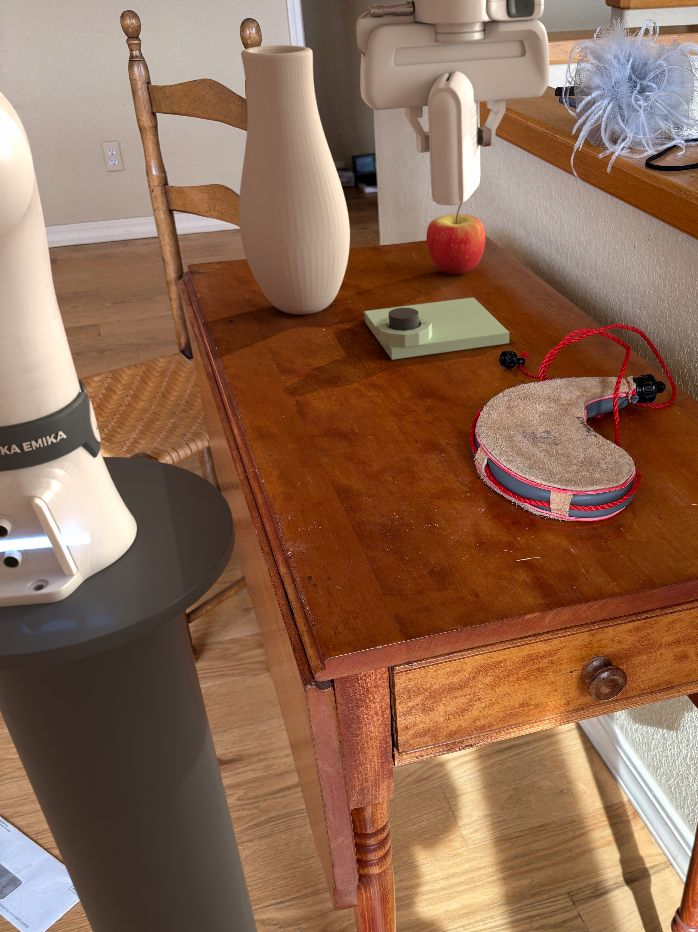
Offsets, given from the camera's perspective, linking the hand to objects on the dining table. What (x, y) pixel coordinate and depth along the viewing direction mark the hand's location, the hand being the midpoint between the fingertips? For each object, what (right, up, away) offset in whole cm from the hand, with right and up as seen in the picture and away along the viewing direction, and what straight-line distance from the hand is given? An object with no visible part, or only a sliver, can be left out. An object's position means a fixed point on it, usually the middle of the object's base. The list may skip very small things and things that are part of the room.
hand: (456, 148), depth 102 cm
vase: (-20, -11, +22) cm, 32 cm away
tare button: (-6, -17, +10) cm, 20 cm away
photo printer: (0, -4, +2) cm, 5 cm away
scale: (-3, -16, +15) cm, 22 cm away
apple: (0, -2, +33) cm, 33 cm away
